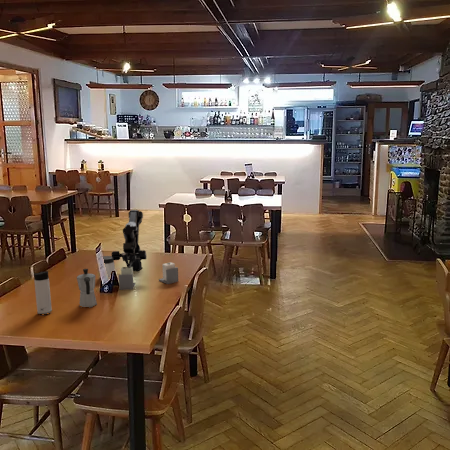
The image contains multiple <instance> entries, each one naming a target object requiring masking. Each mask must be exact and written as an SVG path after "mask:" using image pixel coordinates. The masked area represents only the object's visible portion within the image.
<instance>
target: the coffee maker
mask: <svg viewBox="0 0 450 450" xmlns="http://www.w3.org/2000/svg"><path fill="white" fill-rule="evenodd" d="M82 271H83V273H81V274H78V275H77V277H76V281H77V286H78V290H79V291H80V292H79V293H80V294H79V304H80V305H79V304H78V305H79V307H80V306H82V307H89V308H93V306H94V307H95V305H96V306H97V305H98V302H97V299H96V294H95V293H96V292H95V287H96V274H93V273H89V268H84V269H82ZM82 307H81V308H82Z"/></svg>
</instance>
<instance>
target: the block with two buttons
mask: <svg viewBox="0 0 450 450" xmlns="http://www.w3.org/2000/svg"><path fill="white" fill-rule="evenodd" d="M120 271H121V272H120V275H121V274H133V275H134V271H133V267H127V266H122V267H121V269H120Z"/></svg>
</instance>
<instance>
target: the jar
mask: <svg viewBox="0 0 450 450" xmlns="http://www.w3.org/2000/svg"><path fill="white" fill-rule="evenodd" d="M102 257H103V259H104V263H105V267H106V271H107V274H108V277H110V275H111V272H112V271H116V269H115V260H113V258H112V255H103V256H102Z"/></svg>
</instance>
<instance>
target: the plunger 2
mask: <svg viewBox="0 0 450 450" xmlns="http://www.w3.org/2000/svg"><path fill="white" fill-rule="evenodd" d="M175 267H176V263H174V262H172V261H171V262H167V263H162V278H163V280H166V281H167V279H166V270H167V269H171V268H175Z"/></svg>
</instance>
